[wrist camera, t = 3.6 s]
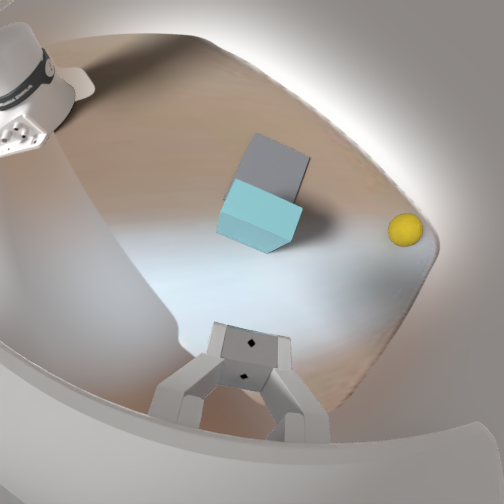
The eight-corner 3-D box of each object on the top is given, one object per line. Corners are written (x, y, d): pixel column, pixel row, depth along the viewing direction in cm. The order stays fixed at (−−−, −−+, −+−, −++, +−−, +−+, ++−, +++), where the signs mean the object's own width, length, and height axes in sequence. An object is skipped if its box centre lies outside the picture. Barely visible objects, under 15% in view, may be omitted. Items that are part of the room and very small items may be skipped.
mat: (284, 226, 41) (284, 225, 41) (223, 199, 40) (223, 198, 40) (308, 158, 44) (309, 157, 43) (254, 133, 42) (255, 132, 42)
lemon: (379, 246, 44) (408, 239, 36) (380, 216, 45) (408, 204, 37) (401, 251, 45) (431, 245, 37) (402, 223, 45) (430, 213, 38)
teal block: (266, 253, 40) (291, 241, 29) (216, 232, 40) (220, 211, 28) (275, 229, 41) (302, 208, 29) (226, 208, 40) (235, 178, 28)
